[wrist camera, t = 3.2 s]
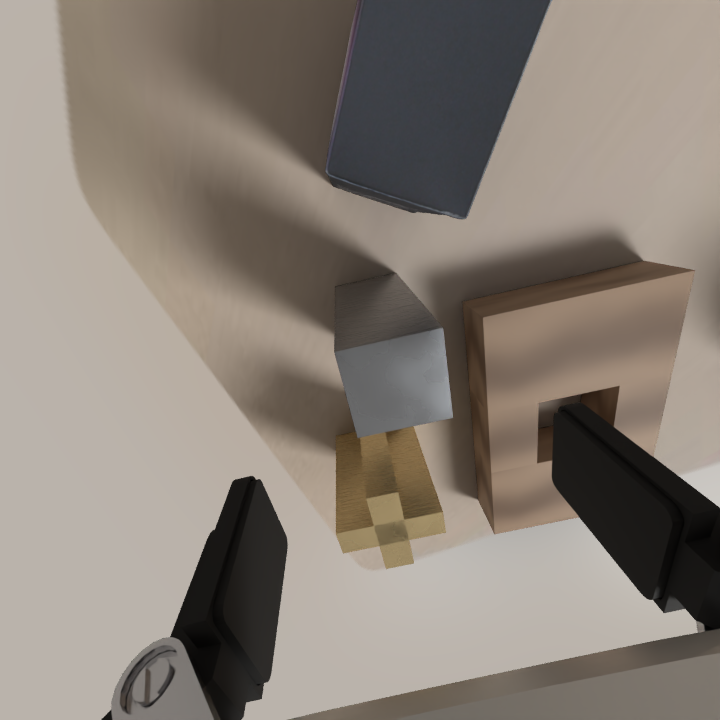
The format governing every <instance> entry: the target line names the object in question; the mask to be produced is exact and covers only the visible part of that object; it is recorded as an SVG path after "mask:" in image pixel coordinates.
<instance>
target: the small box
mask: <svg viewBox="0 0 720 720" xmlns="http://www.w3.org/2000/svg"><path fill="white" fill-rule="evenodd" d="M551 1H552V0H358V1H357V6H356V10H355V14H354V19H353V23H352V27H351V32H350V37H349V43H348V48H347V53H346V59H345V64H344V69H343V74H342V79H341V84H340V89H339V94H338V99H337V104H336V110H335V115H334V120H333V125H332V130H331V136H330V142H329V148H328V154H327V162H326V168H325V171H326V174H327V175H328V177H329V179H330V181H331V183H332V185H333V186H334V187H336V188H339V189H342V190H345V191H347V192H351V193H353V194H356V195H360V196H363V197H366V198H369V199H372V200H375V201H378V202H381V203H384V204H387V205H390V206H393V207H396V208H399V209H403V210H406V211H409V212H411V213H416V212H422V213H431V214H438V215H442V214H443V215H448V216H450V217H453V218H457V219H466V218H467V216H468V214H469V211H470V209H471V206H472V204H473V201H474V199H475V196H476V193H477V191H478V188H479V186H480V183H481V181H482V178H483V175H484V173H485V170H486V168H487V165H488V163H489V160H490V158H491V155H492V153H493V150H494V147H495V145H496V142H497V140H498V137H499V135H500V132H501V130H502V127H503V124H504V122H505V119H506V116H507V114H508V111H509V109H510V106H511V104H512V101H513V99H514V96H515V94H516V91H517V89H518V86H519V84H520V81H521V78H522V76H523V73H524V70H525V68H526V65H527V63H528V60H529V58H530V55H531V52H532V50H533V47H534V45H535V42H536V40H537V37H538V35H539V32H540V29H541V26H542V23H543V21H544V18H545V16H546V14H547V11H548V9H549V6H550V4H551Z"/></svg>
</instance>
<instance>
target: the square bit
mask: <svg viewBox="0 0 720 720" xmlns="http://www.w3.org/2000/svg"><path fill="white" fill-rule="evenodd" d="M334 353H335V356H336V360H337V364H338V367H339V371H340V375H341V378H342V382H343V386H344V390H345V393H346V397H347V401H348V404H349V408H350V412H351V415H352V419H353V423H354V426H355V430H356V434H357V437H358V438H360V437H365V436H370V435H374V434H379V433H384V432H389V431H393V430H398V429H403V428H407V427H412V426H417V425H421V424H426V423H431V422H435V421H440V420H445V419H450V418H453V413H452V404H451V395H450V386H449V376H448V367H447V358H446V349H445V340H444V331H443V327H442V326H441V325H440V324H439V322H438V321H437V320H436V319H435V318H434V317H433V315H432V314H431V313H430V312H429V311H428V310H427V308H426V307H425V306H424V305H423V304H422V303H421V301H420V300H419V299H418V298H417V297H416V296H415V294H414V293H413V292H412V291H411V290H410V289H409V287H408V286H407V285H406V284H405V283H404V282H403V280H402V279H401V278H400V277H399V276H398V275H397V273H393V274H389V275H384V276H380V277H375V278H371V279H367V280H362V281H358V282H354V283H349V284H345V285H340V286H336V287H335V338H334Z"/></svg>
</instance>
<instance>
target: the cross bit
mask: <svg viewBox="0 0 720 720" xmlns="http://www.w3.org/2000/svg"><path fill="white" fill-rule="evenodd" d="M441 533H446V530H445V523H444V516H443V511H442V508H441V505H440V502H439V499H438V496H437V494H436V491H435V488H434V485H433V482H432V479H431V476H430V473H429V470H428V467H427V465H426V462H425V459H424V456H423V453H422V450H421V447H420V444H419V441H418V439H417V436H416V433H415V430H414V427H413V426H412V427H407V428H403V429H398V430H393V431H389V432H384V433H379V434H374V435H370V436H365V437H360V438H358V437H357V434H356V432H352V433H347V434H343V435H338V436H336V535H337V538H338V541H339V543H340V546H341V549H342V552H343V553H347V552H352V551H357V550H362V549H367V548H372V547H377V546H380V549H381V553H382V556H383V560H384V563H385V567H386V569H388V568H393V567H398V566H403V565H408V564H413V563H414V560H413V556H412V551H411V546H410V542H409V540H412V539H417V538H422V537H426V536H431V535H436V534H441Z"/></svg>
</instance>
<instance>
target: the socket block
mask: <svg viewBox="0 0 720 720" xmlns="http://www.w3.org/2000/svg"><path fill="white" fill-rule="evenodd" d="M694 273H695V270H690V269H685V268H680V267H674V266H669V265H664V264H658V263H653V262H647V261H641V262H636V263H632V264H628V265H623V266H619V267H614V268H610V269H605V270H601V271H596V272H592V273H587V274H583V275H579V276H574V277H570V278H565V279H561V280H556V281H552V282H547V283H543V284H538V285H534V286H529V287H525V288H521V289H516V290H512V291H507V292H503V293H498V294H494V295H489V296H485V297H480V298H476V299H472V300H467V301H463V302H462V303H463V315H464V328H465V340H466V353H467V365H468V377H469V390H470V402H471V415H472V427H473V440H474V452H475V465H476V477H477V490H478V501H479V503H480V505H481V507H482V509H483V511H484V513H485V515H486V517H487V519H488V521H489V524H490V526H491V528H492V530H493V532H494V534H498V533H503V532H508V531H513V530H518V529H523V528H528V527H532V526H538V525H543V524H547V523H553V522H558V521H563V520H568V519H573V518H577V517H579V516H578V515H577V514H576V512H575V511H574V510H573V509H572V508H571V506H570V505H569V504H568V503H567V501H566V500H565V499H564V498H563V496H562V495H561V494H560V493H559V491H558V490H557V489H556V487H555V486H554V484H553V481H552V452H553V427H554V426H549V427H545V428H540V429H538V408H539V403H541V402H546V401H550V400H555V399H560V398H564V397H569V396H574V395H578V394H581V403H583V404H584V405H586V406H587V407H588V408H590V409H591V410H592V411H594V412H595V413H596V414H598V415H599V416H600V417H602V418H603V419H604V420H605V421H607V422H608V423H609V424H611V425H612V426H613V427H615V428H616V429H617V430H619V431H620V432H621V433H622V434H624V435H625V436H626V437H628V438H629V439H630V440H632V441H633V442H634V443H636V444H637V445H638V446H639V447H641V448H642V449H643V450H645V451H646V452H647V453H649V454H650V455H651V456H654V452H655V447H656V443H657V438H658V434H659V429H660V425H661V420H662V416H663V411H664V407H665V402H666V398H667V393H668V389H669V384H670V380H671V375H672V371H673V367H674V362H675V358H676V353H677V349H678V344H679V340H680V335H681V331H682V326H683V322H684V317H685V313H686V308H687V304H688V299H689V295H690V291H691V286H692V282H693V277H694Z"/></svg>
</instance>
